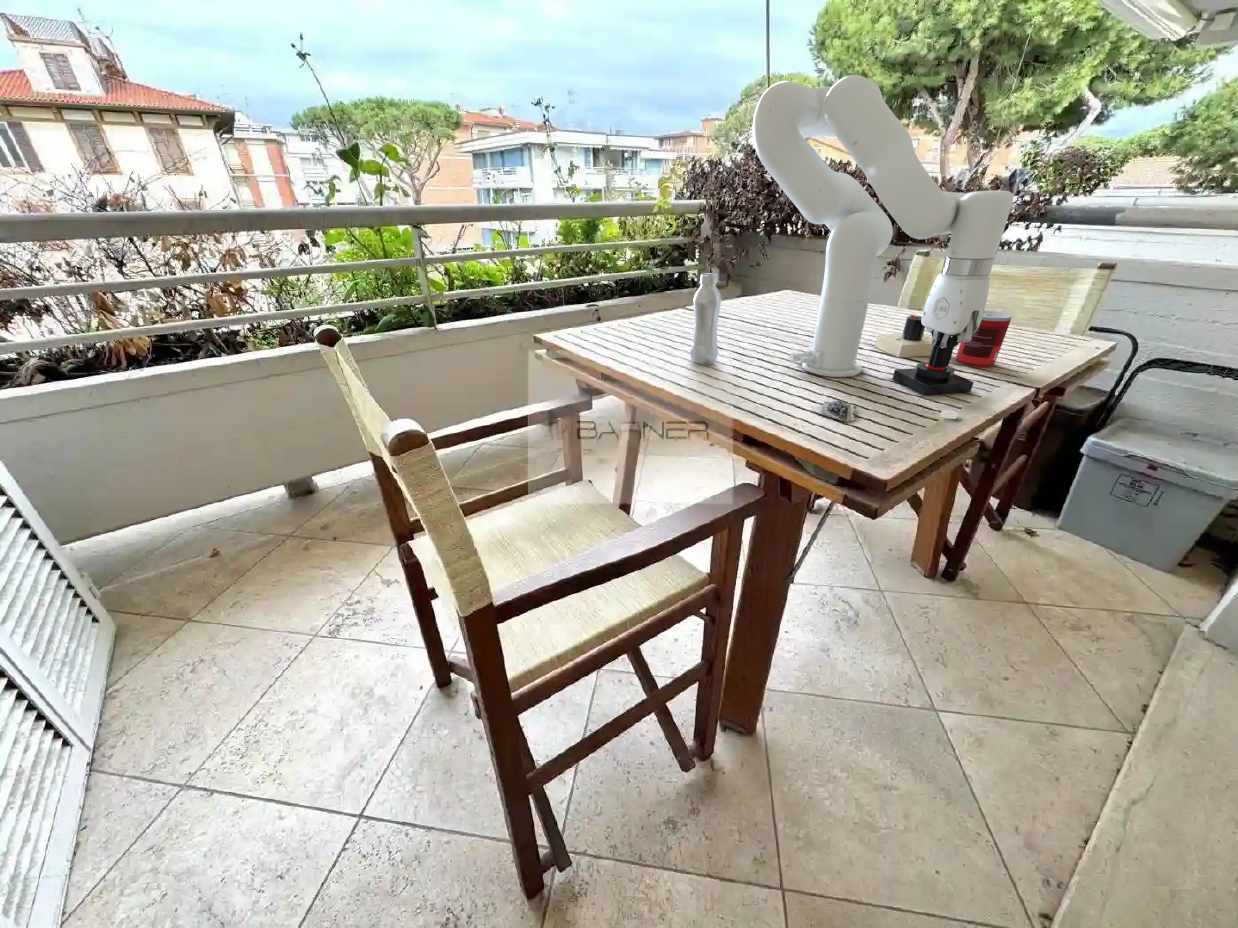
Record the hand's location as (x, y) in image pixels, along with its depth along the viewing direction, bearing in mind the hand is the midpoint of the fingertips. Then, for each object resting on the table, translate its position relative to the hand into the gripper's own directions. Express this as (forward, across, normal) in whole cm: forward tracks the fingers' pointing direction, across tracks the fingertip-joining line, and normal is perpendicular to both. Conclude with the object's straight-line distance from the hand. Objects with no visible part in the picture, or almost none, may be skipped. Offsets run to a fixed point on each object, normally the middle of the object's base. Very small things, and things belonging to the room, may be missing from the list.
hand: (937, 365), depth 97 cm
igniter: (+4, 0, 0) cm, 4 cm away
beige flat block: (+4, -24, +12) cm, 27 cm away
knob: (+1, -24, +12) cm, 27 cm away
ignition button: (+2, 0, 0) cm, 2 cm away
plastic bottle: (+4, -24, -41) cm, 48 cm away
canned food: (+5, -12, +20) cm, 24 cm away
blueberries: (+4, +10, -25) cm, 27 cm away
